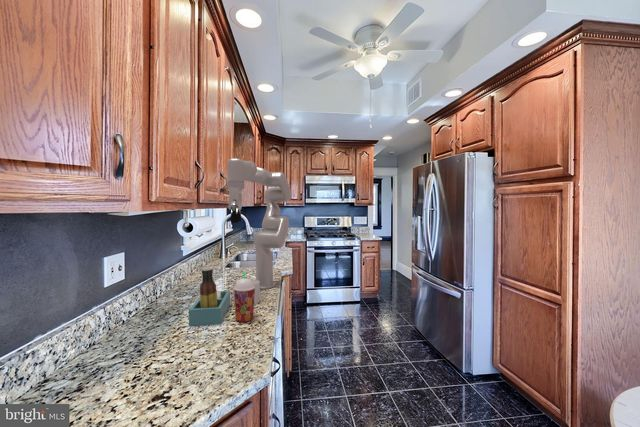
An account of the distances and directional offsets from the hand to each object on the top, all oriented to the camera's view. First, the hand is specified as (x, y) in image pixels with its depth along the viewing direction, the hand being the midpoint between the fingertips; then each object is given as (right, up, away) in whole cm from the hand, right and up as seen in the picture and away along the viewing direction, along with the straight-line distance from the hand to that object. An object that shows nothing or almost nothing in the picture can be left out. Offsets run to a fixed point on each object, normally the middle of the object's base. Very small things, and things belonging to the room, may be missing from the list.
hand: (236, 222), depth 129 cm
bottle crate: (-6, -39, -15) cm, 42 cm away
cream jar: (-6, -38, -10) cm, 39 cm away
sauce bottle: (-5, -38, -20) cm, 43 cm away
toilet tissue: (+5, -39, 0) cm, 39 cm away
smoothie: (+10, -39, -20) cm, 45 cm away
